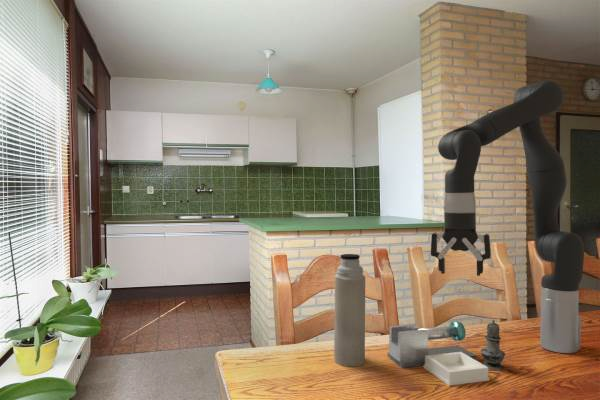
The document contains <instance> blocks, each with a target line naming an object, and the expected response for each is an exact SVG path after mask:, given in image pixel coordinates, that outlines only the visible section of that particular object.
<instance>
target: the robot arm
mask: <svg viewBox="0 0 600 400" xmlns="http://www.w3.org/2000/svg"><path fill="white" fill-rule="evenodd" d="M563 103H564V91H563V89H562V87H561V85H560V84H559V83H558V82H556V81H553V80H543V81H539V82H535V83H532V84H527V85H524V86H521V87H520V88H518V89H517V90H516V92H515V94H514V97H513V103H511V104H508V105H505V106H503V107H500V108H498V109H495V110H493V111H490V112H489V113H486V114H485V115H482V116H480V118H477V119H475V120H474V121H472V122H470V123H469V124H467V125H463V126H461V127H457V128H456V129H455V128H454V129H453V130H451V131H449V132H447V133H445V134H444V135H443V136H442V137H441V138H440V140H439V141H438V144H437V145H438V146H437V150H438V154H440V156H441V157H442V158H443V159H445V160H448V161H449V160H450V161H455V164H454V167H453V168H451V169H449V170H447V171H446V172H445V175H444V200H443V201H444V202H443V205H444V206H443V213H444V214H443V219H444V220H443V221H444V224H443V225H444V232H443V233H437V232H433V233H432V234H431V241H430V256H431V257H435V258H437V260H438V271H439V272H440V274H445V273H446V258H445V256H446V254H447V253H448V252H449V251H450V250H452V251H453V252H455V251H462V252H467V251H470V252H471V254H472V255H474V257H475V258H476V259H477V260H476V276H477V277H481V274H483V272H484V261H485V260H488V259H489V260H490V258H491V257H492V251H491V239H490V238H491V237H490V234H489V233H484V234H478V233H477V220H476V219H477V215H476V214H477V213H476V212H477V210H476V209H477V206H476V205H477V203H476V196H475V174H476V171H477V169H478V164H479V160H480V157H481V151H482V147H485V146H488V145H490V144H492V143H493V142H495V141H496V140H499V138H501V137H504V136H505V135H506V134H508V133H510V132H511V131H513V130H515V129H517V128H519V131H520V137H521V139H522V144H523V150H524V155H525V162H526V169H527V170H526V171H527V172H526V173H527V177H528V185H529V189H530V195H531V202H532V210H533V219H534V220H533V221H534V222H533V223H534V226H533V227H534V243H535V250H536V253H537V255H538V256H539V259H542V261H543V260H544V261H545V262H548V263H553V271H552V272H551V273H550V274H545V275H543V276H541V284H540V287H541V288H540V289H541V290H540V293H541V294H540V332H539V333H540V335H539V337H540V338H539V339H540V341H539V342H540V343H539V344H540V346H541V347H542V348H543V349H545V350H547V351H551V352H555V353H560V354H575V353H577V352H578V351H580V350H581V338H582V337H581V335H582V334H581V332H582V331H581V329H582V326H581V325H582V317H581V315H579V302H580V301H579V295H580V293H579V290H580V283H581V282H582V279H583V272H584V262H585V261H584V260H585V244H584V242H583V239H582V237H581V236H580V235H578V234H576V233H574V232H569V231H561V230H560V227H559V222H558V221H559V220H558V218H559V217H558V211H559V207H560V204H561V202H562V200H563V197H564V195H565V191H566V189H567V176H566V175H567V174H566V168H565V163H564V159H563V157H562V156H561V154H560V153H559V152H558V150H557V149H556V148H555V147H554V145H553V144H552V143H551V142H550V140H549V139H548V138H547V137H546V135H545V133H544V131H543V129H542V124H541V123H542V122H541V117H545V116H548V115H551V114H554V113H556V112H557V111H558V110H560V108H561V106H562V104H563ZM441 239H442V240H443V241H444V242H445V244H446V245H445V246H444V247H443V249H442V250H441V251H440V252H439V251H438V242H441ZM478 240H479V241H480V242H481V243H482V244H484V246H483V247H484V253H481V252H480V250H479V248H478V247H476V245H475V243H476V242H477V241H478Z"/></svg>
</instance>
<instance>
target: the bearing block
mask: <svg viewBox="0 0 600 400" xmlns="http://www.w3.org/2000/svg"><path fill="white" fill-rule="evenodd" d="M388 328H389V334H388V335H389V341H388V343H389V344H388V345H389V346H388V347H389V348H388V349H389V351H388V352H387V358H389V359H390V360H392V362H394V363H395V364H396V365H398V366H399V367H400V368H402V369H405V368H413V367H421V366H423V365H425V356H427V355H436V354H445V353H454V352H462V353H464V354H466V355H467V356H469V357H471V358H473V359H474V360H477V359H478V358H477V354H475V353H473V352H472V351H469V350H468V349H466V348H465V347H462V346H461V345H459V344H457V345H449V346H448V345H447V346H438V347H430V348H429V340H428V330H426V329H424V328H422V329H423V330H417V329H420V328H419V324H417V323H411V324H400V325H390V326H389V327H388Z"/></svg>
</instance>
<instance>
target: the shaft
mask: <svg viewBox="0 0 600 400" xmlns="http://www.w3.org/2000/svg"><path fill="white" fill-rule="evenodd" d="M423 329H426V330H428V341H433V340H442V339H451V340H453V341H454V342H461V341H464V340H465V339H466V328H465V326H464V324H463V323H462V322H461V321H452V322H450V324H449V325H448V326H447V325H446V326H438V327H437V326H436V327H427V328H419V329H417V330H423Z"/></svg>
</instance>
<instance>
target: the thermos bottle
mask: <svg viewBox="0 0 600 400" xmlns="http://www.w3.org/2000/svg"><path fill="white" fill-rule="evenodd" d="M336 272H337V273H336V274H335V275H334V335H333V336H334V340H333V341H334V342H333V343H334V344H333V345H334V346H333V347H334V348H333V351H334V353H333V355H334V359H333V361H334V362H335V363H336V364H337V365H341V366H345V367H359V366H362V365H364V363H365V362H366V360H365V359H366V358H365V357H366V345H365V344H366V276H365V275H364V270H363V267H362V266H361V265H360V254H356V253H355V254H354V253H343V254H341V255H340V265H339V266H338V267H337V270H336Z"/></svg>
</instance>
